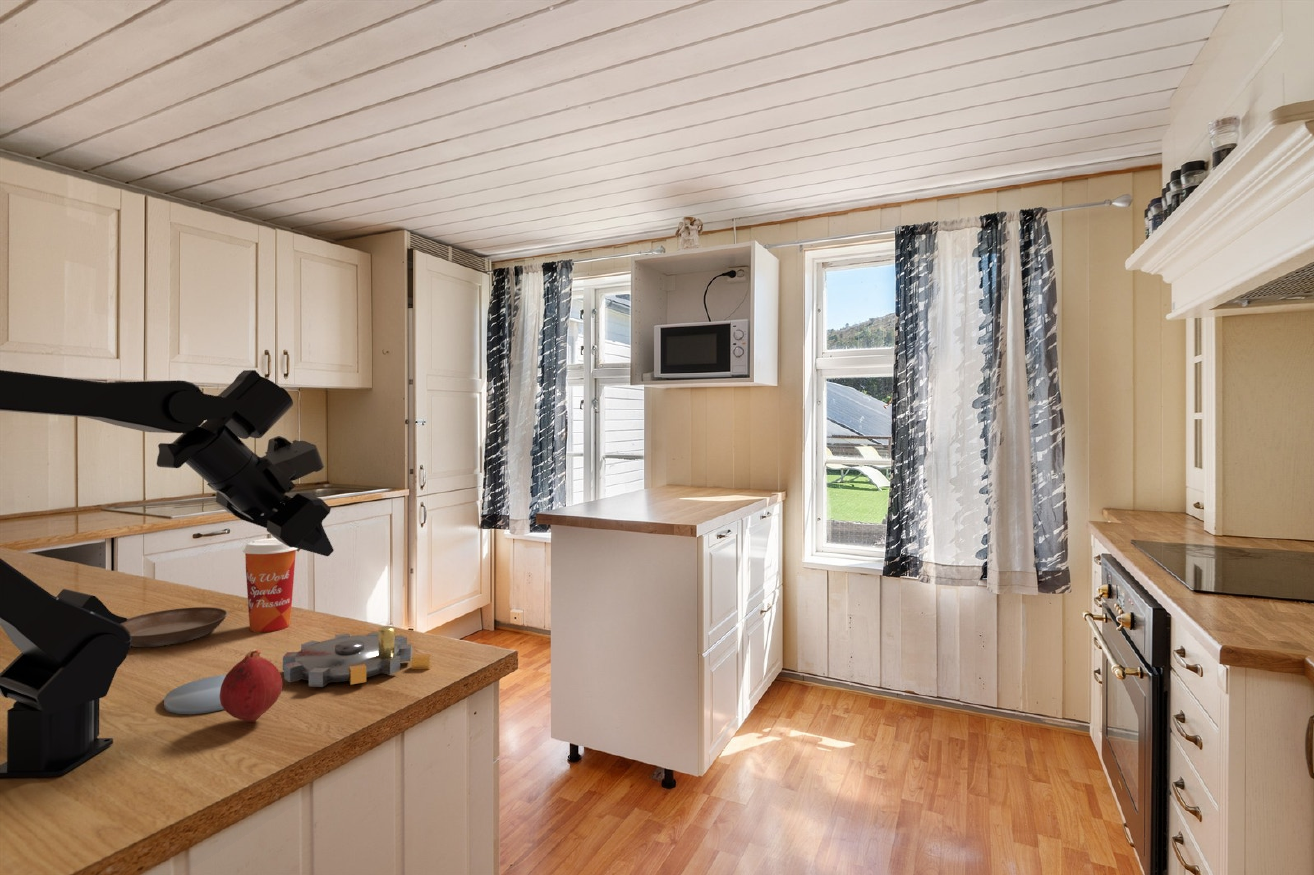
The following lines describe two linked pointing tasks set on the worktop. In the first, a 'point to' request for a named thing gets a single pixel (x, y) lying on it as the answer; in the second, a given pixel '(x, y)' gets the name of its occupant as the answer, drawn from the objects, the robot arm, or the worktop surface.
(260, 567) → the paper cup
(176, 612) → the saucer
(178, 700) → the coaster
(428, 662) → the wooden toy brick
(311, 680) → the sprocket
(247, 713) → the onion
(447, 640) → the worktop surface
